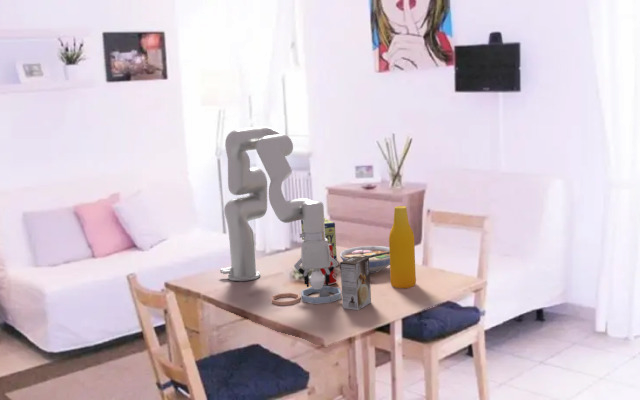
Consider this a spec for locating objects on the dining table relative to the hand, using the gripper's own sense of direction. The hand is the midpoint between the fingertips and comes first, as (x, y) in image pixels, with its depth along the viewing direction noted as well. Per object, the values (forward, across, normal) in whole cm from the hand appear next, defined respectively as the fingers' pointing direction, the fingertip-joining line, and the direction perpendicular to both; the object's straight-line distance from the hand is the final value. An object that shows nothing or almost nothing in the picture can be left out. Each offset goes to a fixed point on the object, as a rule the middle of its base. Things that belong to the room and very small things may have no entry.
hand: (317, 284), depth 277 cm
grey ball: (+4, +2, -6) cm, 7 cm away
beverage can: (+4, +5, +14) cm, 16 cm away
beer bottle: (+4, +32, +5) cm, 32 cm away
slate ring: (+4, +1, -3) cm, 5 cm away
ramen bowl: (+4, +22, +28) cm, 35 cm away
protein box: (+4, +4, +55) cm, 56 cm away
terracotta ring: (+4, -11, -4) cm, 13 cm away
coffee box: (+4, +13, -15) cm, 20 cm away
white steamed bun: (+1, 0, 0) cm, 1 cm away
